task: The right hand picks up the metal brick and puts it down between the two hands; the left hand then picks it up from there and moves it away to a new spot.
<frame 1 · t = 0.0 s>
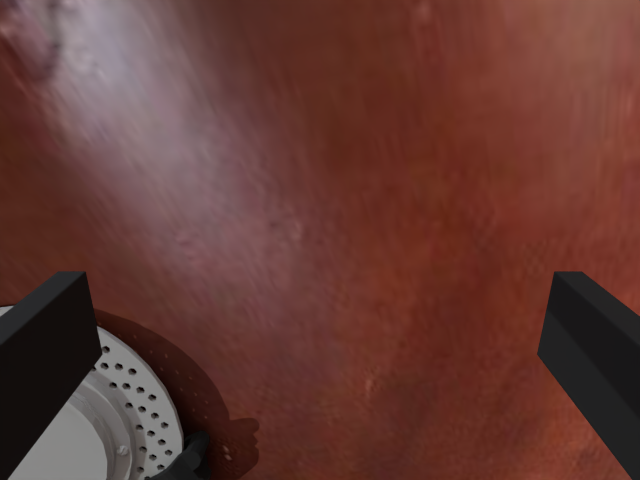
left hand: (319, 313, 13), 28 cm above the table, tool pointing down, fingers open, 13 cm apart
brake disc: (64, 428, 50), on the table
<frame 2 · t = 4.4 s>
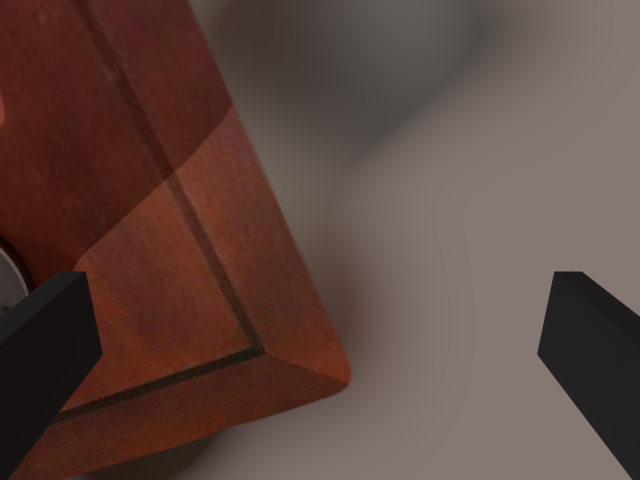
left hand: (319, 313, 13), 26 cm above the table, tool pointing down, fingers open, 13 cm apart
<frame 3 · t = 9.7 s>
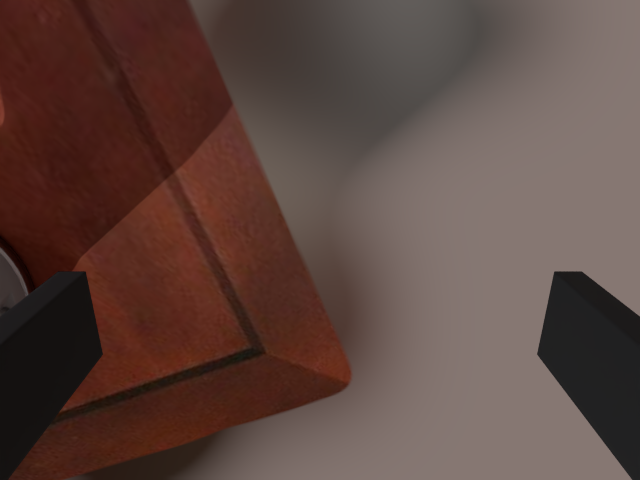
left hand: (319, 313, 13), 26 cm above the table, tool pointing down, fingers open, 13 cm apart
when the right hand's fingers open (6 cm above the table, at t = 14.9 s): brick drops 2 cm, on the table.
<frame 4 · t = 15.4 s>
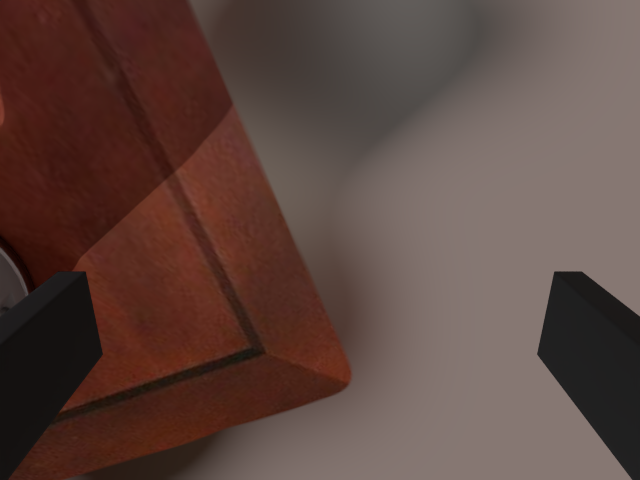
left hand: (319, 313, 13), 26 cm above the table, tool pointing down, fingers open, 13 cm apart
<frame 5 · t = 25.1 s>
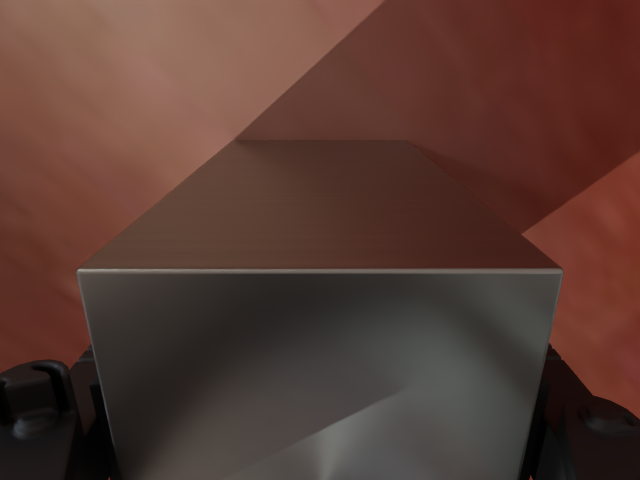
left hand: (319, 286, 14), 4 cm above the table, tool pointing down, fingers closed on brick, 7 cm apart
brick: (319, 239, 18), on the table, touching left hand
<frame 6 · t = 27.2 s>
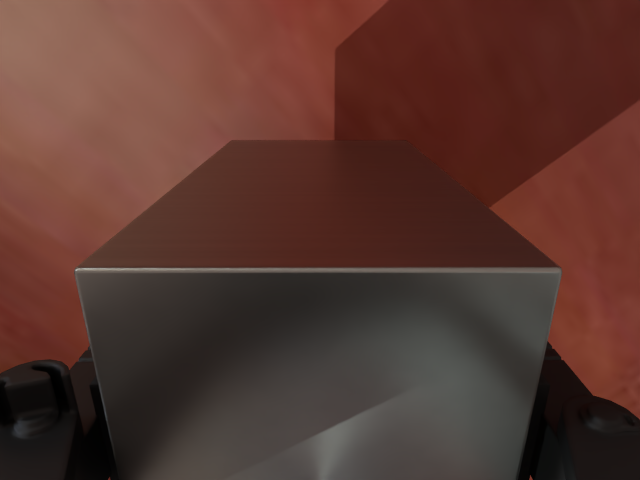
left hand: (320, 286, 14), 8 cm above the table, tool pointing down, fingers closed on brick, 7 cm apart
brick: (319, 239, 18), point 4 cm above the table, touching left hand
when the left hand's fingers open (6 cm above the table, at t = 29.6 s): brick drops 2 cm, on the table.
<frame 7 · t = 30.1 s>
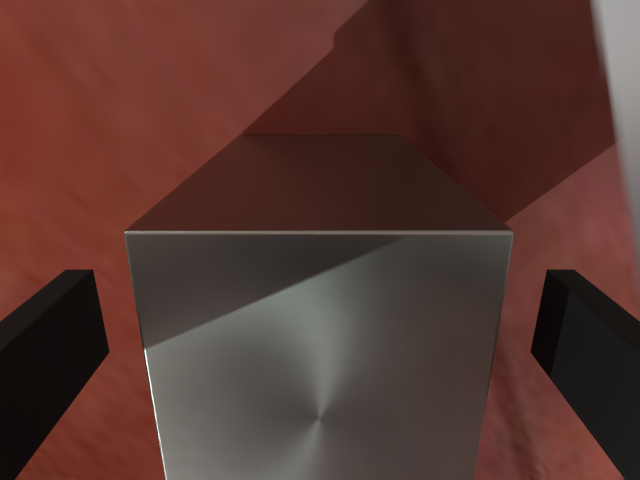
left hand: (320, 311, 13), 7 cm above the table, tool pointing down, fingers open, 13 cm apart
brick: (319, 226, 20), on the table
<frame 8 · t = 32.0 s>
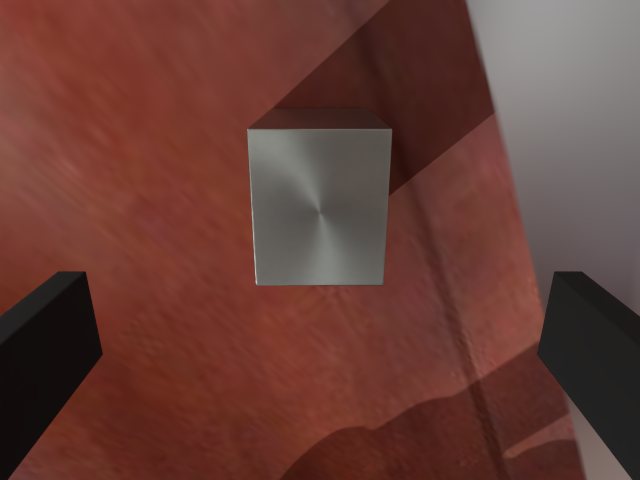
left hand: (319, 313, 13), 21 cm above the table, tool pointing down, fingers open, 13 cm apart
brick: (319, 164, 32), on the table
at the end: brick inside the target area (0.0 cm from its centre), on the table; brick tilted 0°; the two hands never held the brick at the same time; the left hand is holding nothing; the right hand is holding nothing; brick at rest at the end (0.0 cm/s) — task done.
